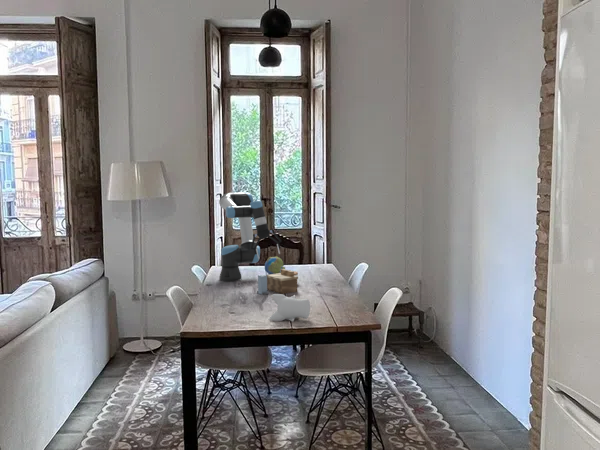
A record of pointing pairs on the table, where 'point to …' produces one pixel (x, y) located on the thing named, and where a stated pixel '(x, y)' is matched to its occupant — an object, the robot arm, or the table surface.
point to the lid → (283, 275)
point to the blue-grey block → (262, 284)
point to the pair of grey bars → (264, 293)
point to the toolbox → (282, 285)
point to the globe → (274, 265)
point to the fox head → (290, 308)
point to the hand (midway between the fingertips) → (269, 256)
